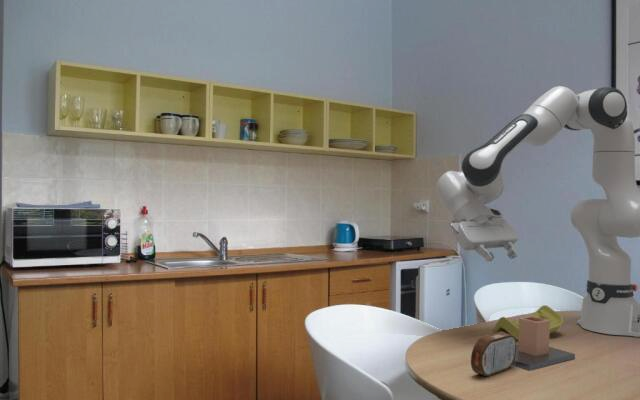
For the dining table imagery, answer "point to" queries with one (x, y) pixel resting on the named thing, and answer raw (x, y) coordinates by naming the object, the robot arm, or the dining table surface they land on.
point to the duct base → (541, 358)
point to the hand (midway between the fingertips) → (502, 258)
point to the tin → (493, 353)
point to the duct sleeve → (534, 335)
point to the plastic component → (542, 312)
